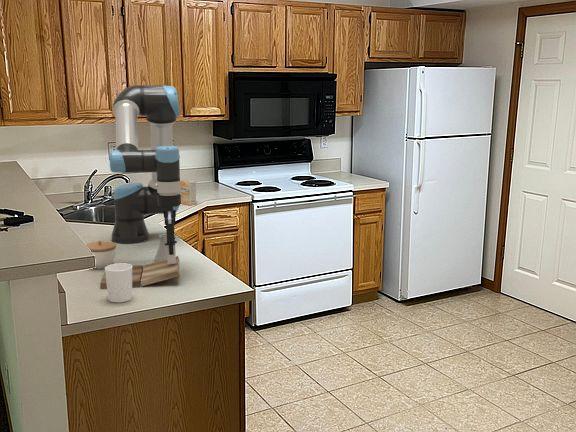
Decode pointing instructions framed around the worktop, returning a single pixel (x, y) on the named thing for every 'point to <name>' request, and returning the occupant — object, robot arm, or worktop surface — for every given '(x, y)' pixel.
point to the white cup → (119, 282)
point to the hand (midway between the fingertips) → (171, 263)
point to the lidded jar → (103, 253)
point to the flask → (162, 249)
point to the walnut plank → (136, 277)
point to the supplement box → (188, 192)
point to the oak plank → (159, 271)
